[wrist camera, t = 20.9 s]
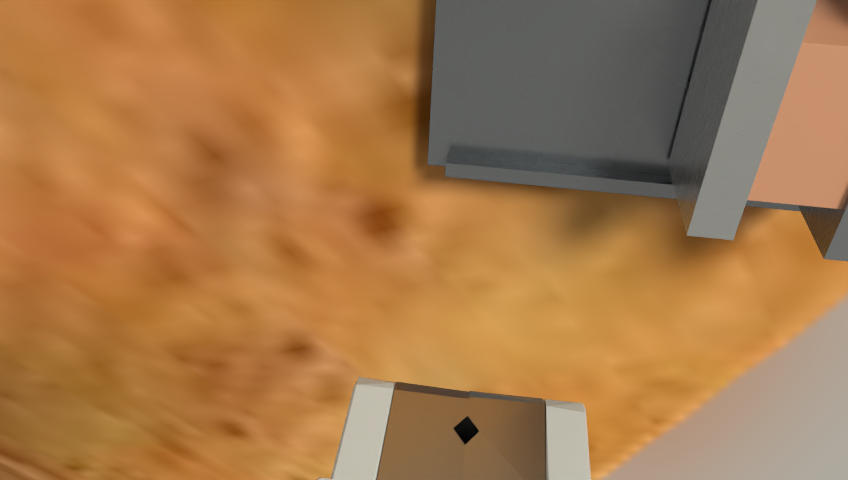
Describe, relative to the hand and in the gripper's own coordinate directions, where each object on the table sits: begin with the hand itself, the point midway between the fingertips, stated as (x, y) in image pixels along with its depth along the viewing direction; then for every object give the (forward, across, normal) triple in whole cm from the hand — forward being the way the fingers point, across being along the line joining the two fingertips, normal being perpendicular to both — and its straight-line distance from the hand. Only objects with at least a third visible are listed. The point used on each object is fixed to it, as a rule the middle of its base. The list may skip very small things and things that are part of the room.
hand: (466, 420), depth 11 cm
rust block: (+28, -13, +6) cm, 31 cm away
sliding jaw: (+28, -10, +6) cm, 30 cm away
